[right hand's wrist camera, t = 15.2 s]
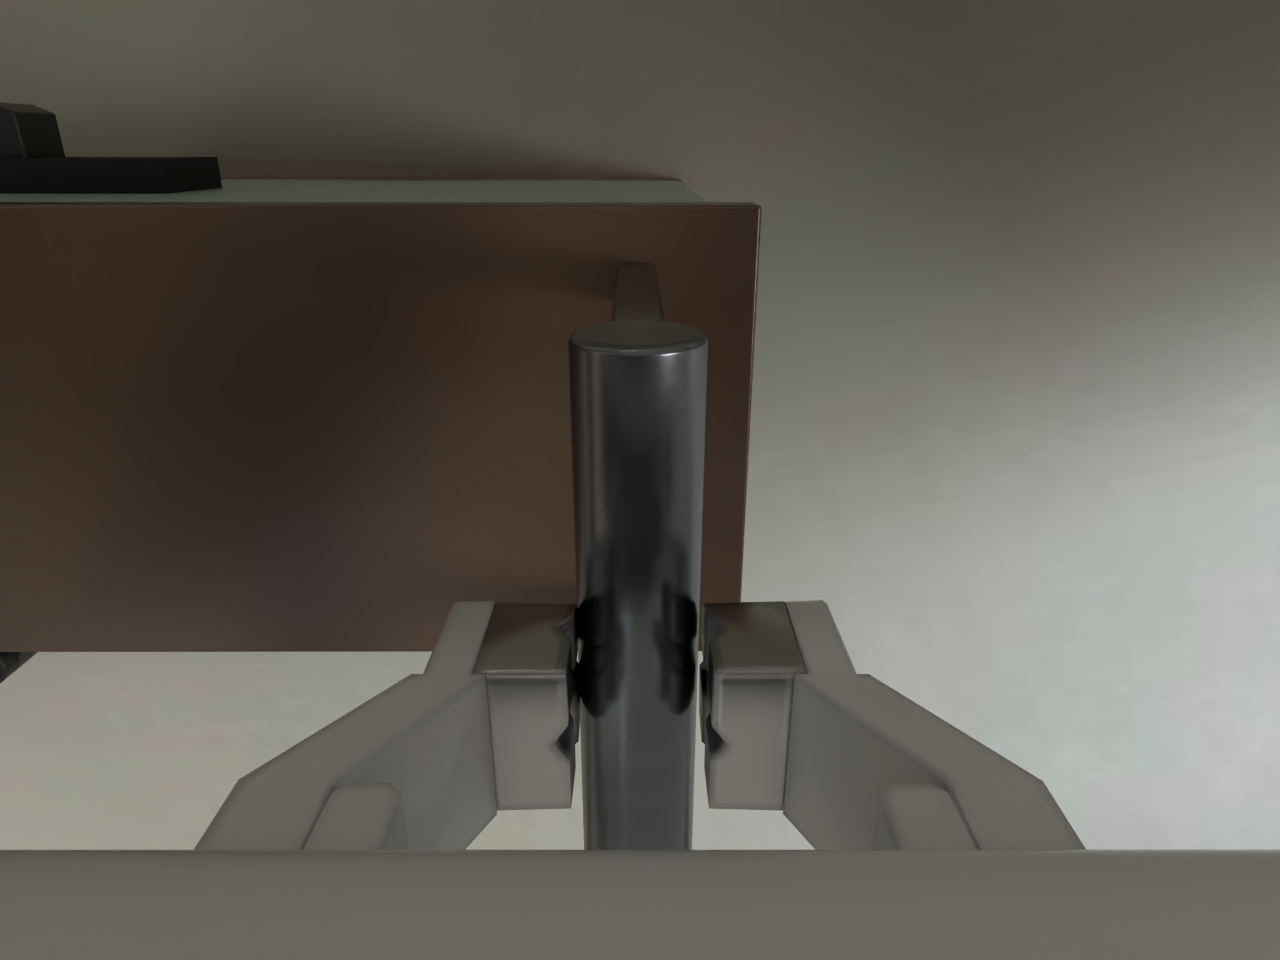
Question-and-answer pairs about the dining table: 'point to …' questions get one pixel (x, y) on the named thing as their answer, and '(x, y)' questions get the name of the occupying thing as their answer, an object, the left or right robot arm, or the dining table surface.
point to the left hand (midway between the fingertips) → (232, 385)
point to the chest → (405, 191)
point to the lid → (387, 441)
